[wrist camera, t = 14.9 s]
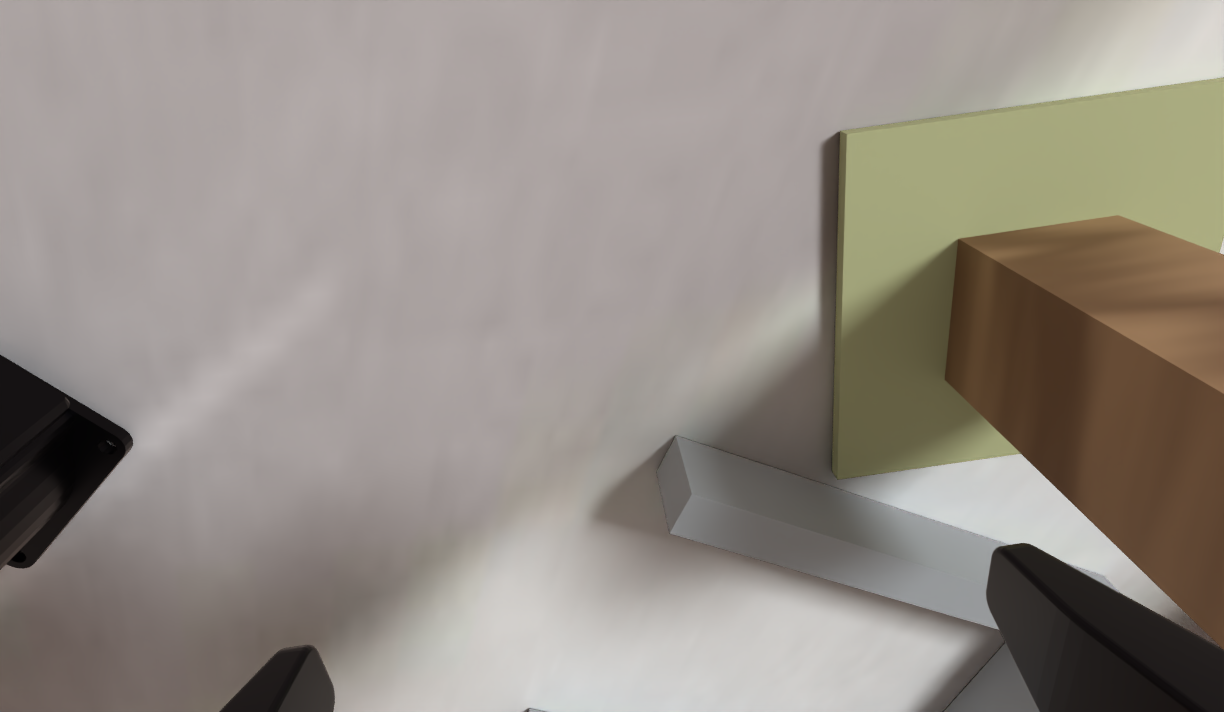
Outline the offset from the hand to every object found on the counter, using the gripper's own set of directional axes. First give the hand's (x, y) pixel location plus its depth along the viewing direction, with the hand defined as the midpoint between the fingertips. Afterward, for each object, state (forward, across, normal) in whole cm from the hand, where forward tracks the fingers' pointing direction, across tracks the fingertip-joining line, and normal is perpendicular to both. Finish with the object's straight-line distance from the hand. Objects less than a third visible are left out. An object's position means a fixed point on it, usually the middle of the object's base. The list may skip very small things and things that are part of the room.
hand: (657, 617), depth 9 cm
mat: (+12, -12, +2) cm, 17 cm away
